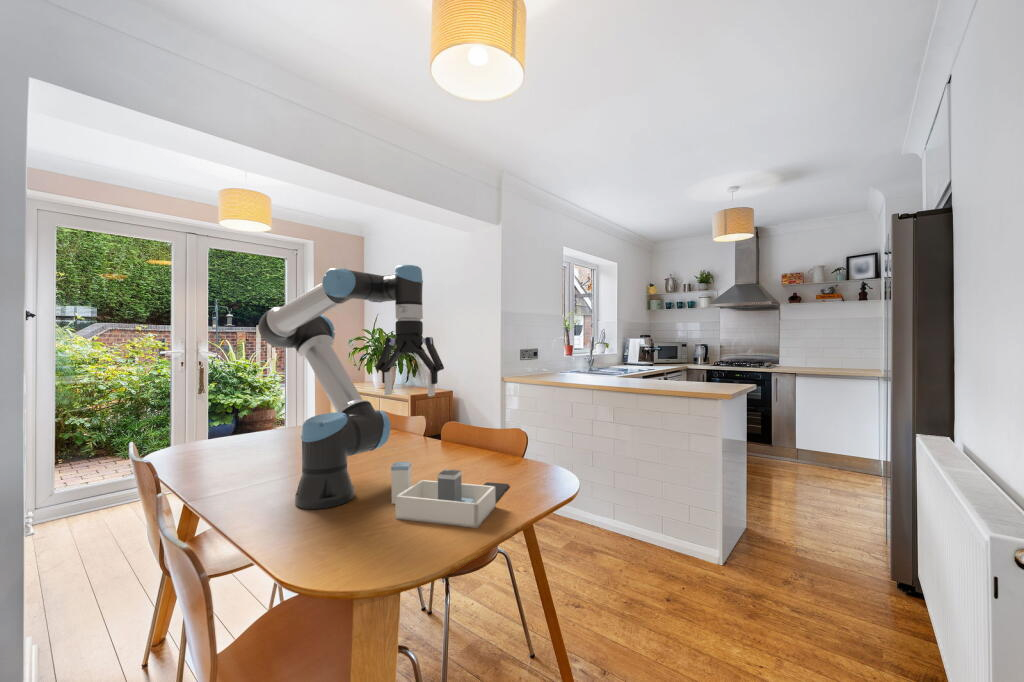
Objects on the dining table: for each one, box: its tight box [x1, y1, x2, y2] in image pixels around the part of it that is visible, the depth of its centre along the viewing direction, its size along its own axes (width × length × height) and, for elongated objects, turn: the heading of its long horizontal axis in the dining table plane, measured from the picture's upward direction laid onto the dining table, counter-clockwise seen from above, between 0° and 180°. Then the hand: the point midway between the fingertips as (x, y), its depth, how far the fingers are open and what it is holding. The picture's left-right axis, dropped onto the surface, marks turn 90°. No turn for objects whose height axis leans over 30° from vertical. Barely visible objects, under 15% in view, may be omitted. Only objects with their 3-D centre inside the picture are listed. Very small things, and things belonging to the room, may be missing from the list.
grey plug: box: [437, 468, 463, 502], centre depth 112 cm, size 5×5×10 cm
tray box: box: [395, 479, 497, 529], centre depth 112 cm, size 22×14×6 cm, turn 74°
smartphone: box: [483, 482, 510, 503], centre depth 127 cm, size 8×1×16 cm
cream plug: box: [390, 461, 412, 504], centre depth 121 cm, size 5×5×10 cm
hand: (409, 395), depth 124 cm, fingers open, 13 cm apart
